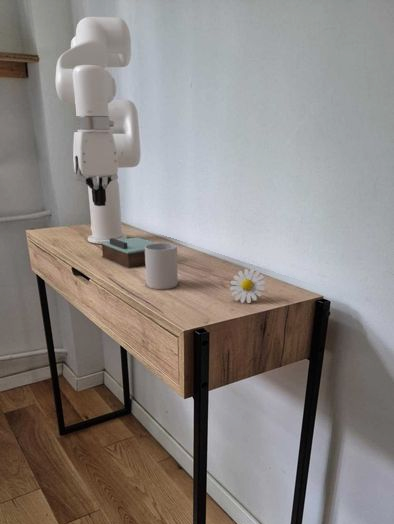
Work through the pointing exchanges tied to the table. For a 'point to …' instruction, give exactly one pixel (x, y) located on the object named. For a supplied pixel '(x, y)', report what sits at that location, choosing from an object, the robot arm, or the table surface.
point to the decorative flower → (247, 285)
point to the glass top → (128, 244)
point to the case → (124, 257)
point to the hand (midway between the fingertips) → (99, 205)
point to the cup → (161, 265)
